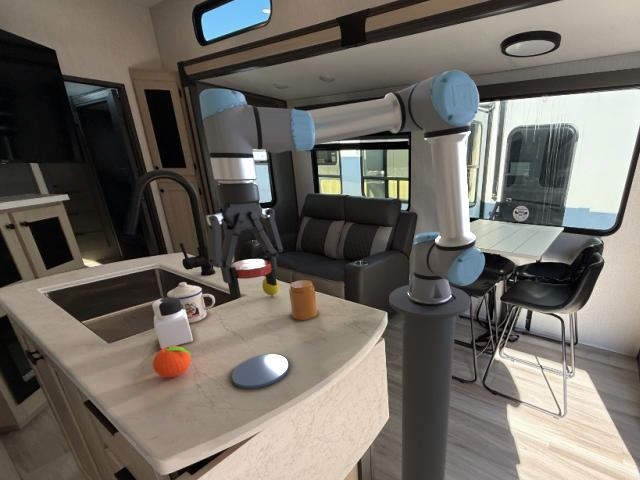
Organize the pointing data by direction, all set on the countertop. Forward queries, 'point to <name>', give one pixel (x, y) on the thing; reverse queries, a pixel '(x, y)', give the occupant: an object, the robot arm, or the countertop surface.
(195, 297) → the teacup with lid
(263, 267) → the lid
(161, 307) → the medicine bottle
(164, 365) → the clementine
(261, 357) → the saucer
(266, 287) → the lemon
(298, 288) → the jar
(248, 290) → the countertop surface
